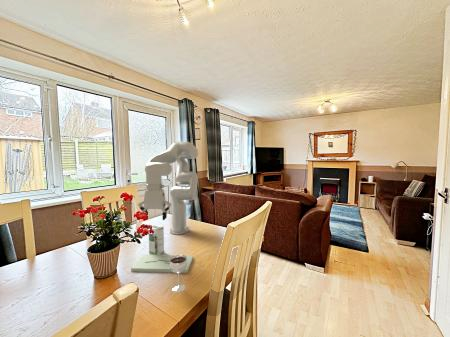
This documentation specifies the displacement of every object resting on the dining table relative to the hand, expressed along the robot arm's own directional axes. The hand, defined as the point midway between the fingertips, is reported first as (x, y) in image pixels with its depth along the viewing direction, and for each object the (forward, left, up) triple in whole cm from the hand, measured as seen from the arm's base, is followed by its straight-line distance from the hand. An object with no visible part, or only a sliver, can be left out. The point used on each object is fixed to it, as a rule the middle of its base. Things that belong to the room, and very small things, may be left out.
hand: (155, 219), depth 103 cm
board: (+10, +8, -19) cm, 23 cm away
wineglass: (+26, +20, -19) cm, 37 cm away
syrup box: (-1, 0, -19) cm, 19 cm away
